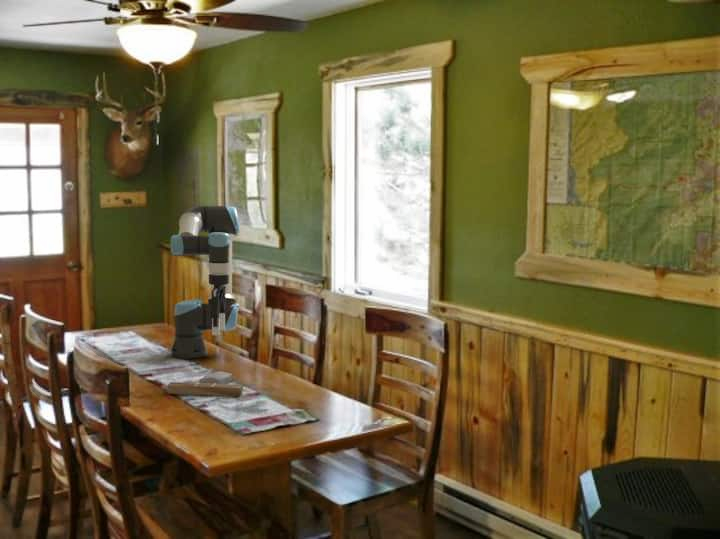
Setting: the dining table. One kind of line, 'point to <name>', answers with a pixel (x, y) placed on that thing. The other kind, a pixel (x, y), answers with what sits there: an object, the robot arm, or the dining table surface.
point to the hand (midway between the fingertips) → (218, 332)
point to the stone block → (217, 378)
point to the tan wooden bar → (204, 389)
